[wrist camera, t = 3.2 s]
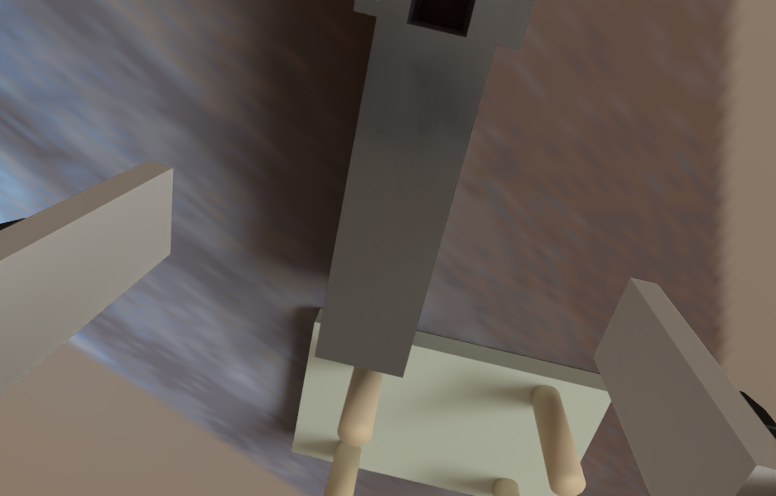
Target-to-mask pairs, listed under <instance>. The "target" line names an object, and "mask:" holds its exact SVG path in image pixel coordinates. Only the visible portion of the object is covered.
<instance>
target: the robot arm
mask: <svg viewBox="0 0 776 496" xmlns="http://www.w3.org/2000/svg"><path fill="white" fill-rule="evenodd" d="M172 190H173V167H169V166H165V165H160V164H156V163H152V162H148V161H147V162H145V163H142V164H140V165H138V166H136V167H134V168H132V169H130V170H128V171H125V172H123V173H121V174H119V175H117V176H115V177H113V178H111V179H109V180H106V181H104V182H102V183H100V184H98V185H96V186H94V187H92V188H89V189H87V190H85V191H83V192H81V193H79V194H77V195H75V196H73V197H70V198H68V199H66V200H64V201H62V202H60V203H58V204H56V205H54V206H51V207H49V208H47V209H45V210H43V211H41V212H39V213H37V214H34V215H32V216H30V217H28V218H23V219H19V220H14V221H10V222H6V223H1V224H0V396H1V395H2V394H3V393H4V392H6V391H7V390H8V389H9V388H10V387H12V386H13V385H14V384H15V383H16V382H18V381H19V380H20V379H21V378H22V377H24V376H25V375H26V374H27V373H28V372H29V371H31V370H32V369H33V368H34V367H36V366H37V365H38V364H39V363H40V362H42V361H43V360H44V359H45V358H46V357H47V356H48V355H50V354H51V353H52V352H54V351H55V350H56V349H57V348H58V347H59V346H61V345H62V344H63V343H64V342H65V341H67V340H68V339H69V338H70V337H71V336H73V335H74V334H75V333H76V332H77V331H79V330H80V329H81V328H82V327H83V326H85V325H86V324H87V323H88V322H89V321H91V320H92V319H93V318H94V317H95V316H97V315H98V314H99V313H100V312H101V311H102V310H104V309H105V308H106V307H107V306H108V305H110V304H111V303H112V302H113V301H114V300H116V299H117V298H118V297H119V296H120V295H122V294H123V293H124V292H125V291H126V290H128V289H129V288H130V287H131V286H132V285H134V284H135V283H136V282H137V281H138V280H140V279H141V278H142V277H143V276H144V275H145V274H147V273H148V272H149V271H150V270H151V269H153V268H154V267H155V266H156V265H157V264H159V263H160V262H161V261H162V260H163V259H165V258H166V257H167V256H168V255H169V254H170V247H171V219H172ZM594 360H595V362H596V365H597V367H598V369H599V372H600V374H601V377H602V379H603V382H604V384H605V386H606V389H607V391H608V394H609V396H610V399H611V401H612V404H613V406H614V408H615V411H616V413H617V416H618V418H619V421H620V423H621V426H622V428H623V430H624V433H625V435H626V438H627V440H628V443H629V445H630V448H631V450H632V452H633V455H634V457H635V460H636V462H637V465H638V467H639V469H640V472H641V474H642V477H643V479H644V482H645V484H646V487H647V489H648V491H649V494H650V496H776V423H775V422H774V420H773V419H772V418H771V417H770V415H769V414H768V413H767V412H766V410H764V409H763V408H762V407H761V406H760V405H759V404H757V403H756V402H755V401H754V400H753V399H751V398H750V397H749V396H748V395H747V394H745V393H744V392H741V391H738V389H737V388H736V387H735V386H734V384H733V383H732V382H731V380H730V379H729V378H728V376H727V375H726V374H725V372H724V371H723V370H722V368H721V367H720V366H719V364H718V363H717V362H716V360H715V359H714V358H713V357H712V355H711V354H710V353H709V351H708V350H707V349H706V347H705V346H704V345H703V343H702V342H701V341H700V339H699V338H698V337H697V335H696V334H695V333H694V332H693V330H692V329H691V328H690V326H689V325H688V324H687V322H686V321H685V320H684V318H683V317H682V316H681V314H680V313H679V312H678V310H677V309H676V308H675V307H674V305H673V304H672V303H671V301H670V300H669V299H668V297H667V296H666V295H665V293H664V292H663V291H662V289H661V288H660V287H659V286H658V284H655V283H650V282H646V281H642V280H638V279H634V278H630V280H629V282H628V284H627V286H626V288H625V290H624V292H623V295H622V297H621V299H620V301H619V303H618V305H617V307H616V310H615V312H614V314H613V316H612V318H611V320H610V322H609V325H608V327H607V329H606V331H605V333H604V335H603V337H602V340H601V342H600V344H599V346H598V348H597V350H596V353H595V355H594Z"/></svg>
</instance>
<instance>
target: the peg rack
mask: <svg viewBox="0 0 776 496" xmlns="http://www.w3.org/2000/svg"><path fill="white" fill-rule="evenodd" d="M322 313H323V308H320V311H319V313H318V315H317V318H316V320H315V323H314V328H313V334H312V340H311V345H310V351H309V357H308V362H307V368H306V373H305V379H304V385H303V390H302V396H301V402H300V407H299V413H298V419H297V424H296V430H295V435H294V441H293V447H292V452H294V453H298V454H303V455H307V456H311V457H315V458H319V459H323V460H328V461H332V466H331V470H330V474H329V478H328V482H327V486H326V490H325V493H324V496H353V493H354V488H355V483H356V478H357V473H358V468H361V469H365V470H369V471H373V472H378V473H382V474H386V475H390V476H394V477H398V478H403V479H407V480H411V481H415V482H419V483H423V484H428V485H432V486H436V487H440V488H444V489H449V490H453V491H457V492H461V493H465V494H469V495H474V496H576V495H578V494H580V493H581V492H582V491H583V490H584V489H585V486H586V482H585V478H584V475H583V472H582V468H581V465H580V461H581V460H582V458H583V456H584V454H585V452H586V450H587V448H588V446H589V444H590V442H591V440H592V438H593V436H594V434H595V432H596V430H597V428H598V426H599V424H600V422H601V420H602V418H603V416H604V414H605V412H606V410H607V408H608V406H609V404H610V403H611V399H610V396H609V394H608V391H607V389H606V386H605V384H604V382H603V379H602V377H601V374H597V373H592V372H588V371H584V370H580V369H575V368H571V367H567V366H563V365H559V364H554V363H550V362H546V361H542V360H538V359H533V358H529V357H525V356H521V355H517V354H512V353H508V352H504V351H500V350H495V349H491V348H487V347H483V346H479V345H474V344H470V343H466V342H462V341H458V340H453V339H449V338H445V337H441V336H437V335H432V334H428V333H424V332H420V331H416V333H415V336H414V340H413V343H412V347H411V351H410V354H409V358H408V361H407V365H406V368H405V372H404V376H403V378H401V377H397V376H393V375H388V374H384V373H380V372H376V371H372V370H367V369H363V368H359V367H355V366H351V365H346V364H342V363H338V362H334V361H330V360H325V359H321V358H317V357H315V351H316V346H317V340H318V335H319V329H320V324H321V318H322Z"/></svg>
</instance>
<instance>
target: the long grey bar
mask: <svg viewBox="0 0 776 496" xmlns="http://www.w3.org/2000/svg"><path fill="white" fill-rule="evenodd" d="M534 1H535V0H469V2H468V6H467V10H466V14H465V18H464V22H463V26H462V30H461V31H460V30H456V29H451V28H447V27H443V26H439V25H434V24H430V23H426V22H421V21H418V17H419V13H420V8H421V3H422V0H355V2H354V8H353V11H354V12H359V13H363V14H367V15H372V16H376V17H377V19H376V24H375V29H374V35H373V40H372V46H371V51H370V57H369V62H368V68H367V73H366V79H365V84H364V89H363V95H362V100H361V106H360V111H359V117H358V122H357V128H356V133H355V138H354V144H353V149H352V155H351V160H350V166H349V171H348V177H347V182H346V188H345V193H344V198H343V204H342V209H341V215H340V220H339V226H338V231H337V237H336V242H335V248H334V253H333V258H332V264H331V269H330V275H329V280H328V286H327V291H326V297H325V302H324V308H323V313H322V318H321V324H320V329H319V335H318V340H317V346H316V351H315V357H317V358H321V359H325V360H330V361H334V362H338V363H342V364H346V365H351V366H355V367H359V368H363V369H367V370H372V371H376V372H380V373H384V374H388V375H393V376H397V377H401V378H403V376H404V372H405V368H406V365H407V361H408V358H409V354H410V351H411V347H412V343H413V340H414V336H415V333H416V329H417V325H418V322H419V318H420V315H421V311H422V308H423V304H424V300H425V297H426V293H427V290H428V286H429V283H430V279H431V275H432V272H433V268H434V265H435V261H436V258H437V254H438V250H439V247H440V243H441V240H442V236H443V232H444V229H445V225H446V222H447V218H448V215H449V211H450V207H451V204H452V200H453V197H454V193H455V190H456V186H457V182H458V179H459V175H460V172H461V168H462V165H463V161H464V157H465V154H466V150H467V147H468V143H469V139H470V136H471V132H472V129H473V125H474V122H475V118H476V114H477V111H478V107H479V104H480V100H481V97H482V93H483V89H484V86H485V82H486V79H487V75H488V72H489V68H490V64H491V61H492V57H493V54H494V50H495V46H496V45H500V46H505V47H509V48H513V49H518V50H520V48H521V45H522V42H523V38H524V35H525V32H526V28H527V25H528V21H529V18H530V15H531V11H532V8H533V5H534Z"/></svg>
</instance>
